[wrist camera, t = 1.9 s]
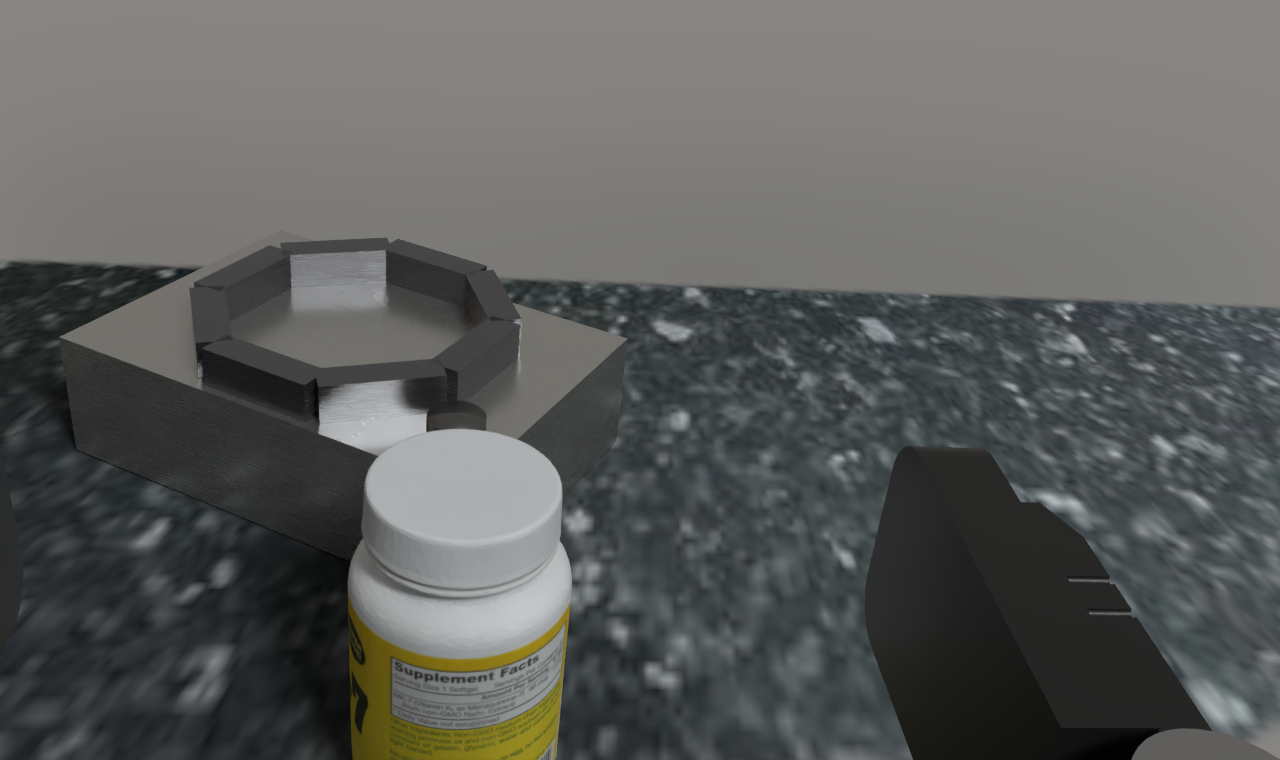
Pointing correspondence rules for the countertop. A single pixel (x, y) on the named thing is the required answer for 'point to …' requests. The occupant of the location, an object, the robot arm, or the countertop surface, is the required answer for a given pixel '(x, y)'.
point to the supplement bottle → (458, 602)
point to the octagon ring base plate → (330, 377)
